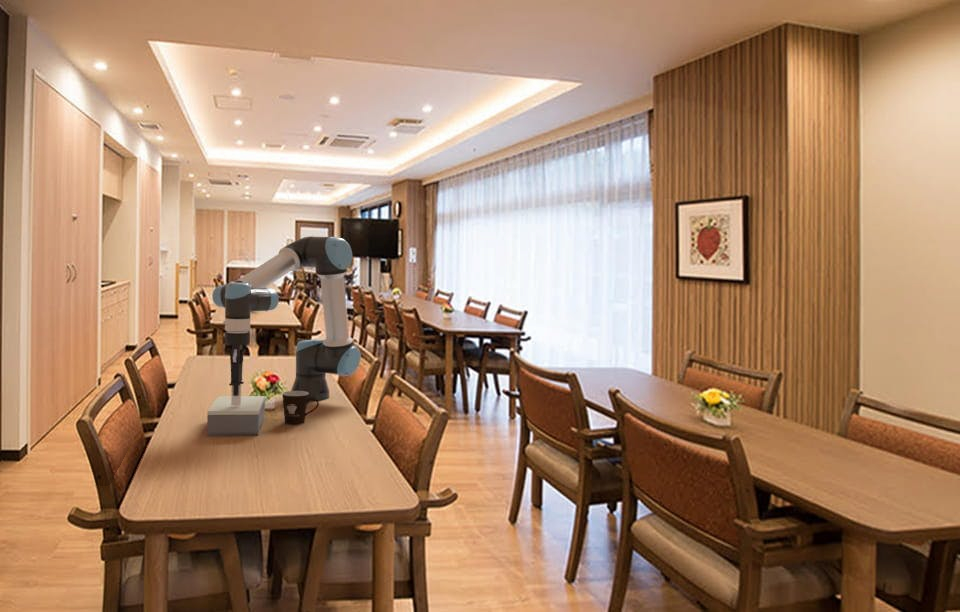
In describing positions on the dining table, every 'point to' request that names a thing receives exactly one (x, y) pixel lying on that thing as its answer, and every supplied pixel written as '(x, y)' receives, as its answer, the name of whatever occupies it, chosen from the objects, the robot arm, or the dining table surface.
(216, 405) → the box lid
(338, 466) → the dining table surface
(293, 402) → the coffee mug
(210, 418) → the open storage box
